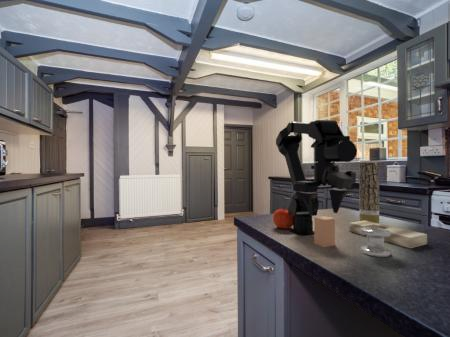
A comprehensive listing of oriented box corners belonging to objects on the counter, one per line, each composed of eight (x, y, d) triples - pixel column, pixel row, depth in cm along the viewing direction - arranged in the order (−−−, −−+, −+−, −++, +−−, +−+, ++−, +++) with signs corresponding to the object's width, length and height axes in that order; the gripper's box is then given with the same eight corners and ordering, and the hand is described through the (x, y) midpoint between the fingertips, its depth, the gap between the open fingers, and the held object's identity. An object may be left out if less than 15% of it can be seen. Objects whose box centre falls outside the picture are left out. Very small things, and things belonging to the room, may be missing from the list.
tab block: (314, 243, 75) (314, 217, 75) (324, 241, 77) (324, 216, 77) (324, 247, 71) (324, 219, 71) (334, 245, 73) (334, 218, 73)
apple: (268, 227, 94) (268, 206, 94) (282, 224, 99) (282, 204, 99) (285, 232, 88) (285, 209, 88) (299, 228, 93) (299, 207, 93)
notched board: (349, 231, 88) (349, 222, 88) (364, 228, 91) (364, 220, 91) (410, 248, 70) (410, 237, 70) (427, 244, 73) (427, 234, 73)
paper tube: (382, 226, 94) (382, 160, 94) (362, 225, 96) (362, 161, 95) (375, 222, 101) (375, 161, 100) (357, 221, 102) (357, 161, 102)
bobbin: (354, 250, 69) (354, 228, 68) (371, 246, 71) (371, 226, 71) (379, 259, 62) (379, 235, 62) (397, 254, 65) (397, 232, 65)
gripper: (321, 162, 63) (321, 223, 63) (370, 161, 70) (370, 216, 70) (292, 162, 73) (292, 215, 73) (338, 162, 80) (338, 209, 81)
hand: (324, 214), depth 74 cm, fingers open, 9 cm apart
